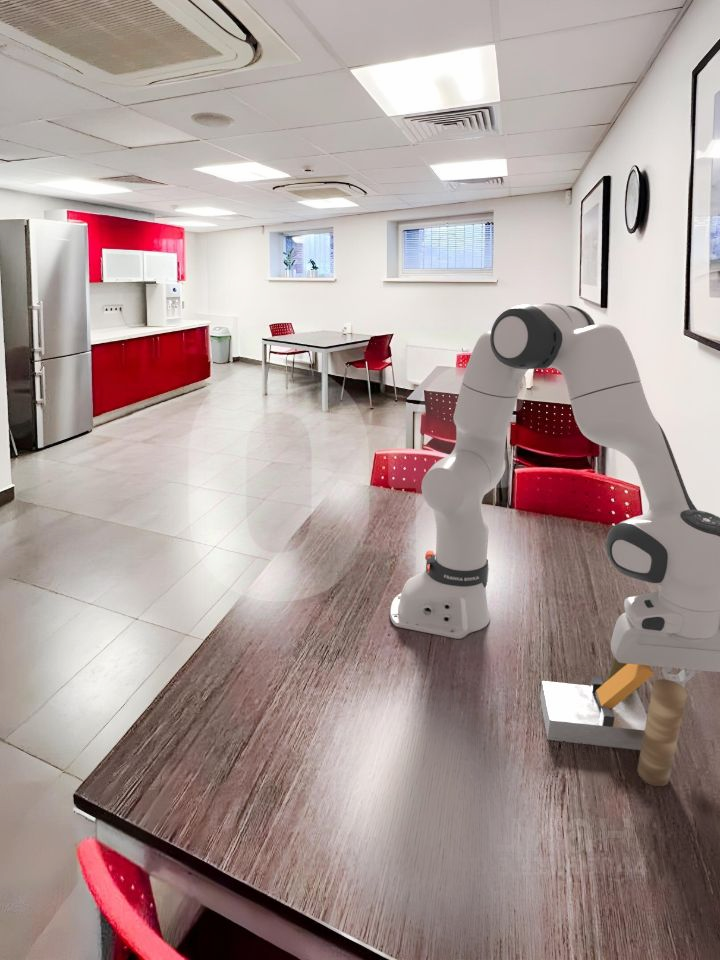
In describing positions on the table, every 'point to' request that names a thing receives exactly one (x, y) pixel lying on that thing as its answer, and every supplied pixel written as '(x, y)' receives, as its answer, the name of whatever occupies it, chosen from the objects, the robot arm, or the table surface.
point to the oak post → (661, 731)
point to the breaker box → (591, 716)
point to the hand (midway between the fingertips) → (672, 686)
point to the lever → (622, 684)
